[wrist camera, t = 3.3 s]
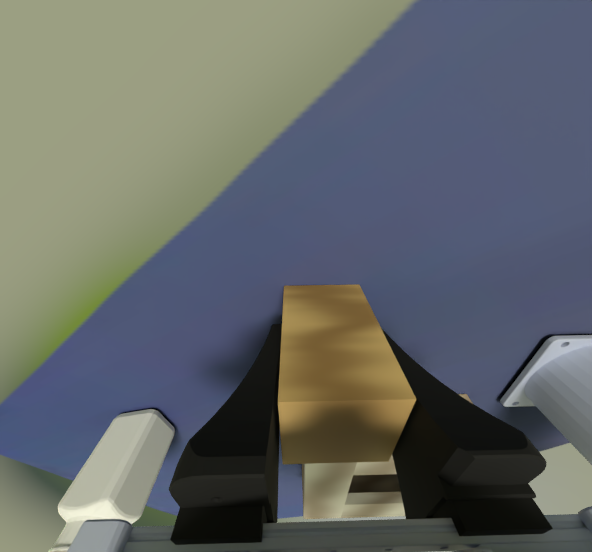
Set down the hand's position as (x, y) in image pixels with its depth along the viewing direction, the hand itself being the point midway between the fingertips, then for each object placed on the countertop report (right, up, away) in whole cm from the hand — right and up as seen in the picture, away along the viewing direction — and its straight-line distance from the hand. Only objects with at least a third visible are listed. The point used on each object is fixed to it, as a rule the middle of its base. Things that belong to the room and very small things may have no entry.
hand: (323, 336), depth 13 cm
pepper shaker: (-15, -10, +8) cm, 19 cm away
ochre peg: (0, +1, +2) cm, 2 cm away
